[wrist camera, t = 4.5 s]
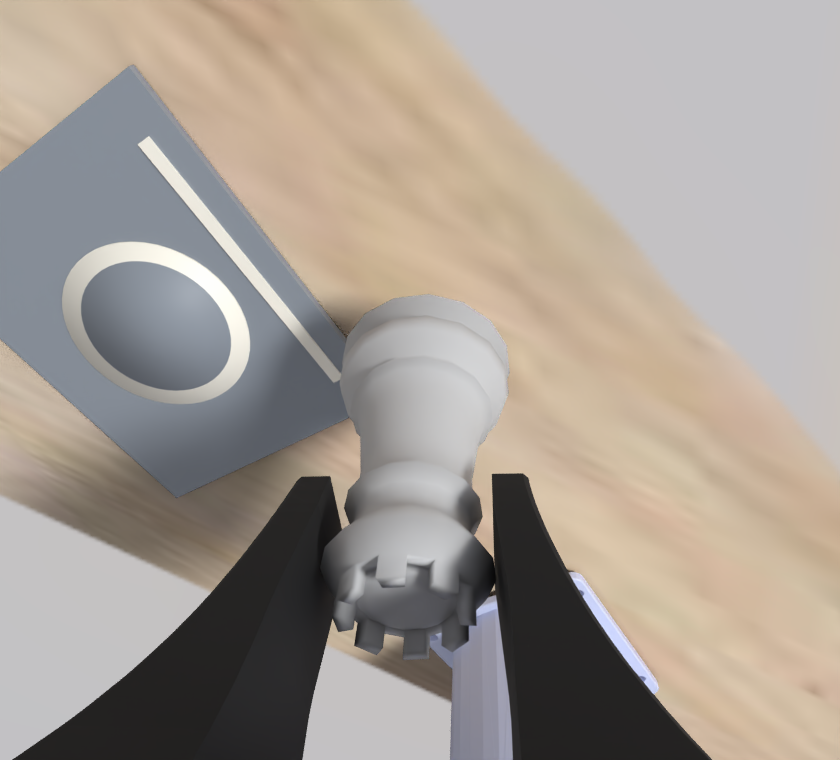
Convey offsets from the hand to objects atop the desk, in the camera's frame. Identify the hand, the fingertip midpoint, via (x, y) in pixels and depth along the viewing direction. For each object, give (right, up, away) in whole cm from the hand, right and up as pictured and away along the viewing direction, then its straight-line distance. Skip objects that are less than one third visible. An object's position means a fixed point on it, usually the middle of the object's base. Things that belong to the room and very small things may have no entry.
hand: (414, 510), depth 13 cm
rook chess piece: (0, +3, +4) cm, 6 cm away
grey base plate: (-8, +4, +8) cm, 12 cm away
